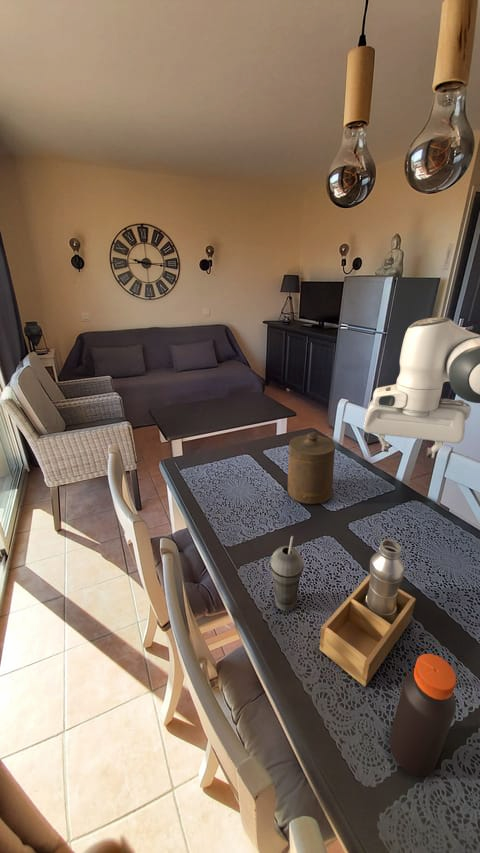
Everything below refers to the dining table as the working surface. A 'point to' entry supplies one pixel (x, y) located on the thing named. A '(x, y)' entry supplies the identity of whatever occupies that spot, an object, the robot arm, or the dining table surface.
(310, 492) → the wooden container
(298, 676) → the dining table surface
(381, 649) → the divided wooden box
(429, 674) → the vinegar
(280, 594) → the beverage cup
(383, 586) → the silver metal bottle
